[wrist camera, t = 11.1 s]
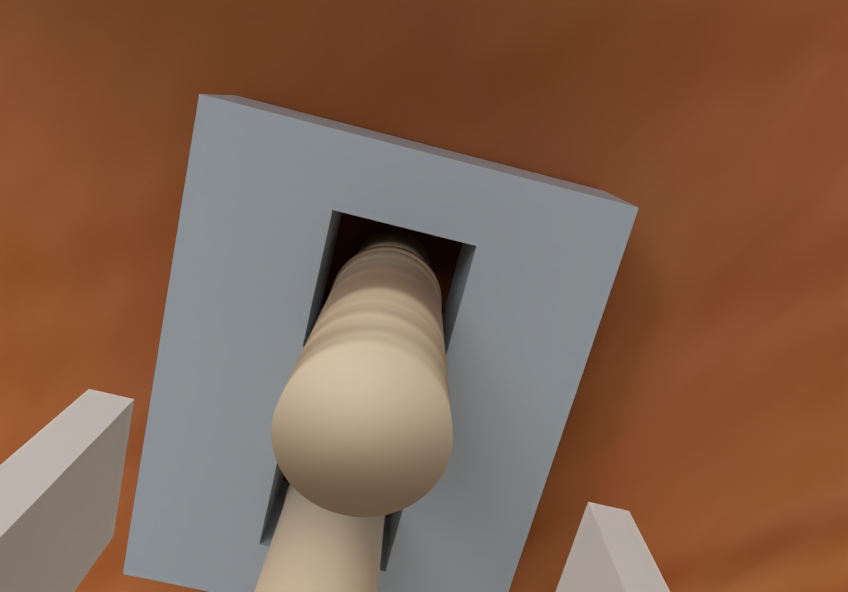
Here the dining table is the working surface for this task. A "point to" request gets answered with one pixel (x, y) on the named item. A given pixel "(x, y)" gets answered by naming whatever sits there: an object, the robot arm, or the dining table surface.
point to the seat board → (293, 323)
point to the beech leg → (370, 387)
